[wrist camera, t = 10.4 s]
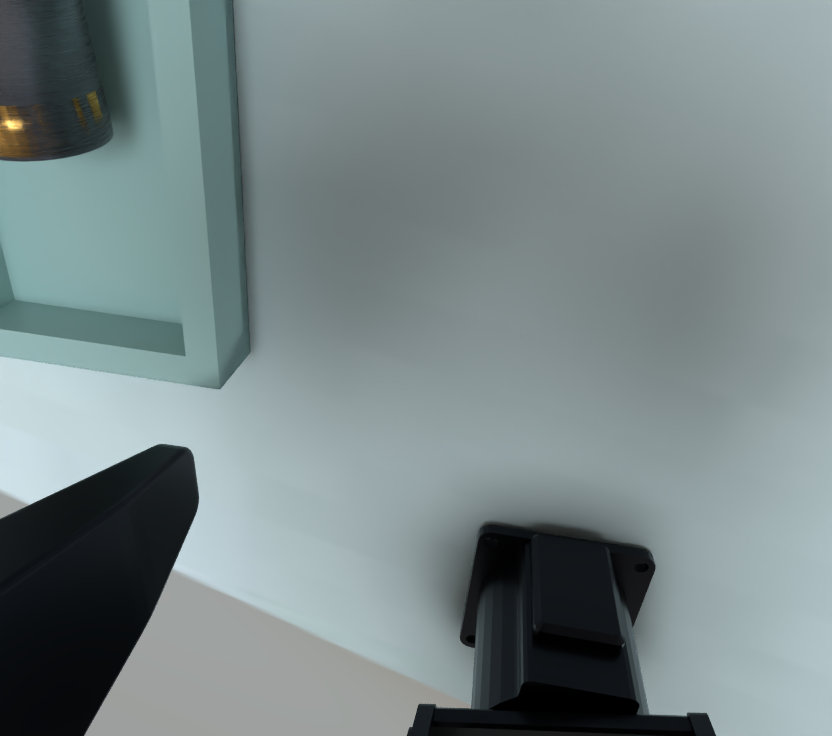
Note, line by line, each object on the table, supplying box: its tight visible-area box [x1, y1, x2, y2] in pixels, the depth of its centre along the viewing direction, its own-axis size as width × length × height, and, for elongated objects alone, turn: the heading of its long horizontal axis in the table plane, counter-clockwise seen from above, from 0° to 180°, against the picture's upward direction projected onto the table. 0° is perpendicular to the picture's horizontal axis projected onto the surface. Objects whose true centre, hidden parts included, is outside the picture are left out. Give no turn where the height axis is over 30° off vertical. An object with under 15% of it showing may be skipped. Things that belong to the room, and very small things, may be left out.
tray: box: [0, 0, 250, 389], centre depth 16 cm, size 20×9×2 cm, turn 175°
